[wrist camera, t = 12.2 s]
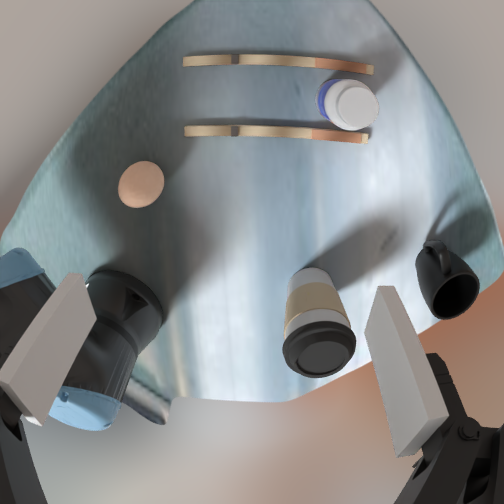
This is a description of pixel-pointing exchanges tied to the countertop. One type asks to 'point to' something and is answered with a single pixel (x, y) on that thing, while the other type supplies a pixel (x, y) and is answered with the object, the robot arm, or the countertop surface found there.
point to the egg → (141, 184)
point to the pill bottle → (347, 103)
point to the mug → (445, 281)
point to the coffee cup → (316, 326)
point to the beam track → (277, 130)
